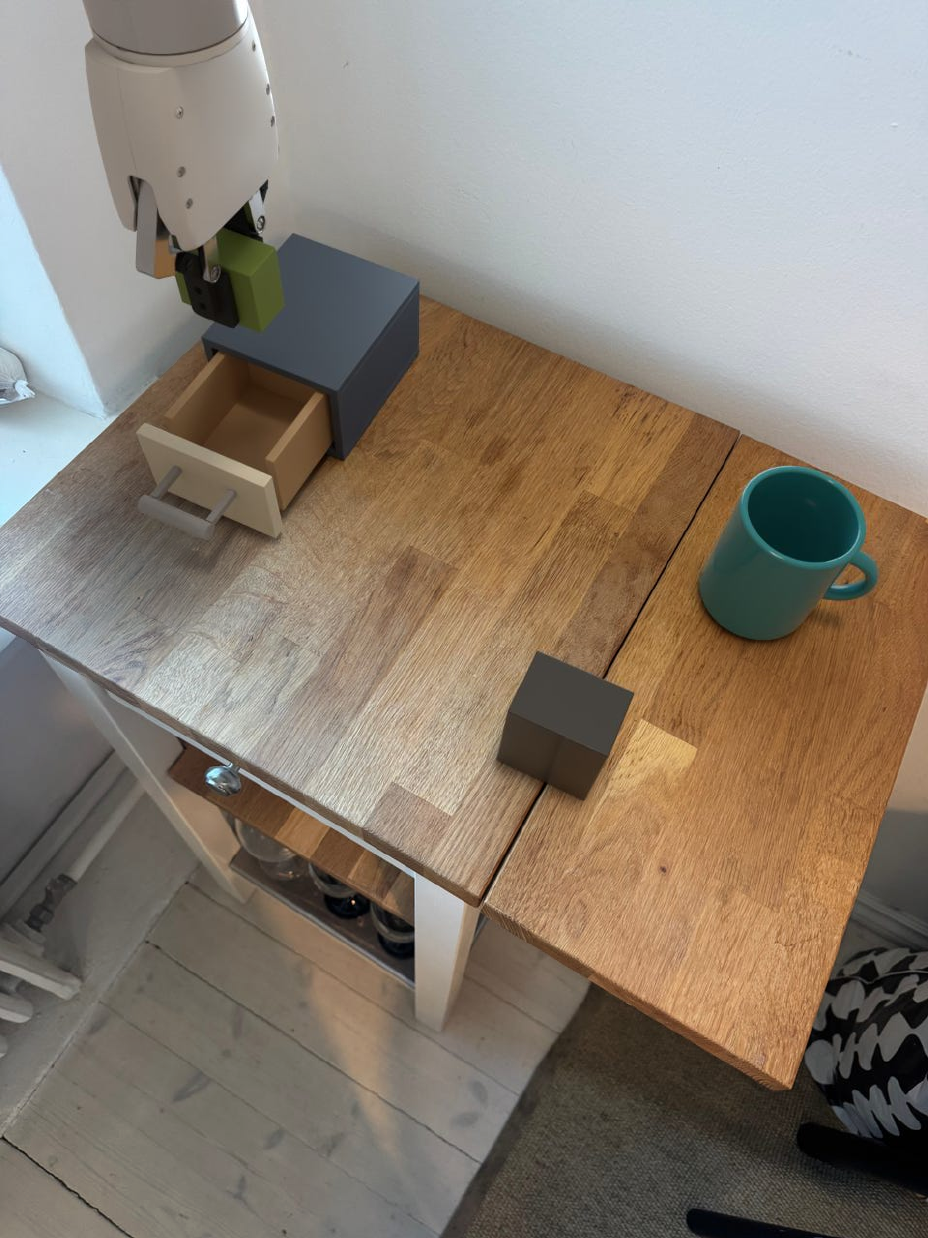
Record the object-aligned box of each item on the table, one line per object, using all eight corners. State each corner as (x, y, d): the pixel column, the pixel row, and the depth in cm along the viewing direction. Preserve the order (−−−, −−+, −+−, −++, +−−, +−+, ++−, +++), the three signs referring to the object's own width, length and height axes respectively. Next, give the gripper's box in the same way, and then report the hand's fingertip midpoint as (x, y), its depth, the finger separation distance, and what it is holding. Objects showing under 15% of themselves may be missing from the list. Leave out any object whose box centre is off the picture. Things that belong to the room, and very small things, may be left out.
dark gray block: (495, 760, 65) (507, 711, 57) (522, 703, 68) (537, 649, 60) (584, 801, 64) (608, 757, 56) (608, 742, 66) (635, 692, 59)
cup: (835, 670, 70) (903, 597, 61) (686, 623, 72) (730, 545, 62) (848, 578, 75) (914, 497, 65) (708, 536, 76) (751, 450, 66)
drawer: (244, 582, 71) (229, 533, 65) (123, 528, 72) (97, 475, 67) (355, 425, 79) (351, 369, 73) (244, 380, 81) (231, 322, 75)
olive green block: (181, 302, 58) (164, 243, 54) (207, 274, 60) (193, 215, 56) (261, 334, 57) (249, 276, 53) (285, 305, 59) (276, 246, 55)
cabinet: (344, 460, 78) (336, 391, 71) (220, 409, 80) (200, 336, 73) (419, 353, 85) (419, 279, 77) (303, 308, 87) (292, 232, 79)
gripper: (195, -101, 47) (251, 210, 63) (-18, 52, 39) (108, 361, 55) (321, -63, 45) (345, 246, 61) (126, 103, 38) (211, 405, 54)
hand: (232, 298), depth 58 cm, fingers closed on olive green block, 3 cm apart
